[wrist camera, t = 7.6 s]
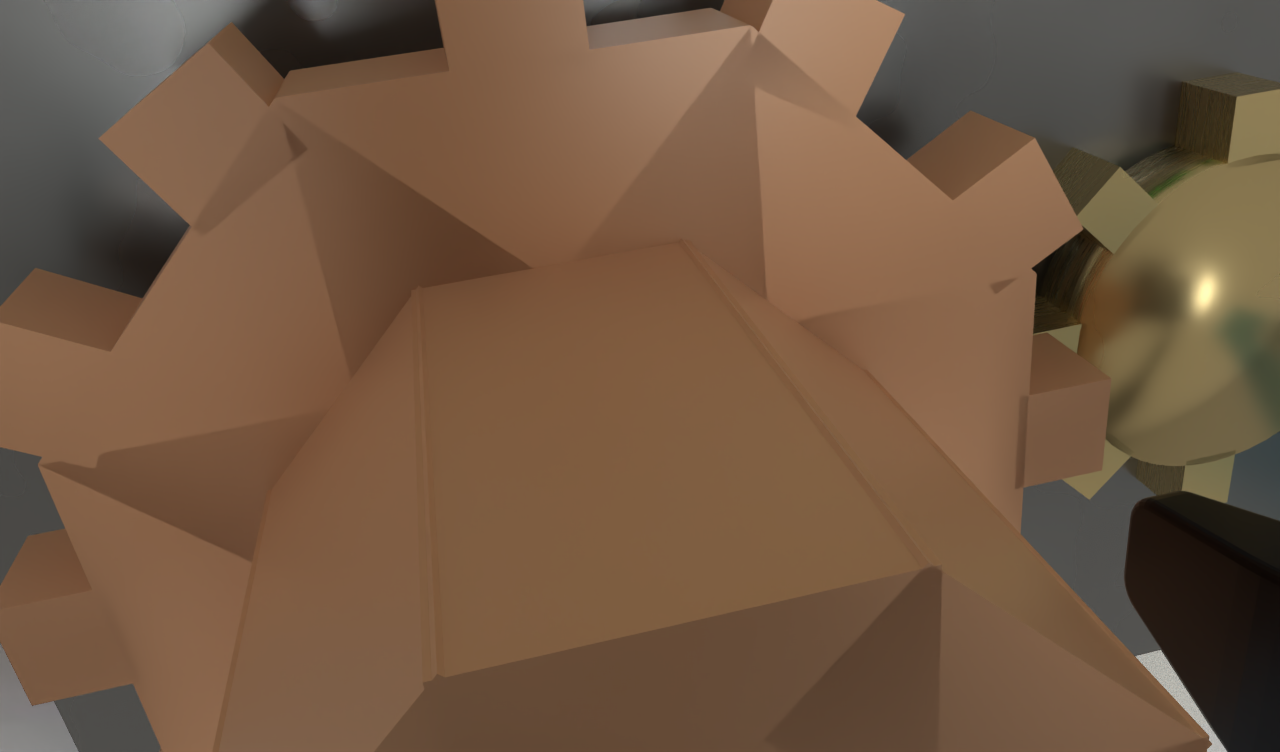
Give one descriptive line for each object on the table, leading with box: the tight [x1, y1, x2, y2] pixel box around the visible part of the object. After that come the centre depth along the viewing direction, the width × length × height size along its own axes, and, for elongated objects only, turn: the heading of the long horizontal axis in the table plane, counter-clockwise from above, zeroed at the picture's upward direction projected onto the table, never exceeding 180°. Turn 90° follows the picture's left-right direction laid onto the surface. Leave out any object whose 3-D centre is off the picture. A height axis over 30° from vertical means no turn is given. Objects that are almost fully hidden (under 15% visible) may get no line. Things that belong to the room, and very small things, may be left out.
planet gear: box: [0, 0, 1212, 752], centre depth 9 cm, size 11×11×6 cm
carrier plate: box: [0, 0, 1280, 752], centre depth 10 cm, size 12×19×7 cm, turn 97°
